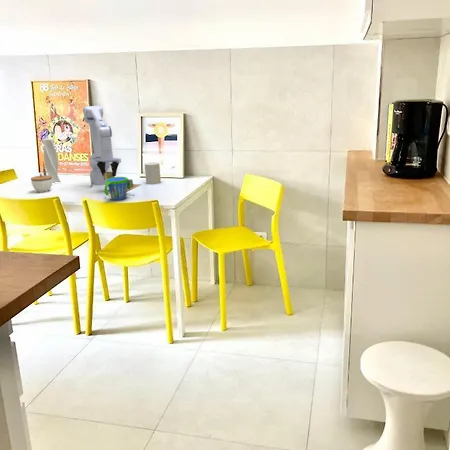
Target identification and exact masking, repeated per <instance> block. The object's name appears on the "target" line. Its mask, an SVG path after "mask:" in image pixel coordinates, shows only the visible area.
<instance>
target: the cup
mask: <svg viewBox="0 0 450 450" xmlns="http://www.w3.org/2000/svg"><path fill="white" fill-rule="evenodd" d="M160 166H161V165H160V162H157V161H155V162H154V161H153V162H151V161H150V162H146V163H144V172H145V183H146V185H156V184H160V183H161V182H162V180H161V167H160Z"/></svg>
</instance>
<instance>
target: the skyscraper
mask: <svg viewBox="0 0 450 450" xmlns="http://www.w3.org/2000/svg"><path fill="white" fill-rule="evenodd" d="M49 136H52V134H49V135H46V137H45V138H42V140H41V141H42V144H43V159H44V161H42V172H43V175H49V176H52V183H55V182H60V183H61V180H60V178H59V174H58V173H59V172H58V171H59V159H58V154H57V150H56V147H55V144H54V143H55V137H56V136H55V134H53V138H51V137H49ZM55 184H56V183H55Z"/></svg>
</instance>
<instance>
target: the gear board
mask: <svg viewBox="0 0 450 450" xmlns="http://www.w3.org/2000/svg"><path fill="white" fill-rule="evenodd" d="M142 185H143V184H141V183H139V184H135V183H133V186H132V187H131V188H130V189H127V192H130V191H132V190H134V189H135V188H138V187H140V186H142ZM107 190H108V192H109V189H107Z"/></svg>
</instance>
